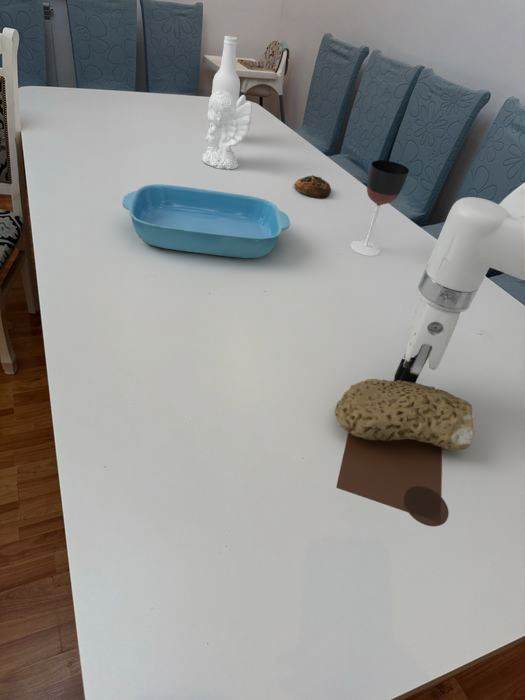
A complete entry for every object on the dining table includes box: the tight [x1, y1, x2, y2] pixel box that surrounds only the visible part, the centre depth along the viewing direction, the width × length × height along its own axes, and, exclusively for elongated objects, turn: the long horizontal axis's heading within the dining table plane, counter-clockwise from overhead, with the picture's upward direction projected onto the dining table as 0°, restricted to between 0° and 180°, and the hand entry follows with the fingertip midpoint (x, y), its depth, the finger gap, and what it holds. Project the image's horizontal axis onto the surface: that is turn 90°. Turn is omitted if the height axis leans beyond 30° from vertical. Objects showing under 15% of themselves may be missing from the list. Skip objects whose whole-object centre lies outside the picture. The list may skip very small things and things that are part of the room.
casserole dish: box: [122, 183, 291, 259], centre depth 112 cm, size 37×22×7 cm, turn 93°
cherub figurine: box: [201, 91, 253, 170], centre depth 147 cm, size 13×12×20 cm
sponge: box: [333, 378, 475, 451], centre depth 74 cm, size 13×8×20 cm
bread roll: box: [293, 174, 332, 199], centre depth 144 cm, size 11×11×5 cm
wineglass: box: [349, 159, 410, 257], centre depth 116 cm, size 8×9×20 cm
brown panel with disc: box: [335, 432, 449, 527], centre depth 72 cm, size 19×15×1 cm
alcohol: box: [208, 35, 241, 129], centre depth 160 cm, size 9×9×30 cm
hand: (403, 382), depth 81 cm, fingers closed
